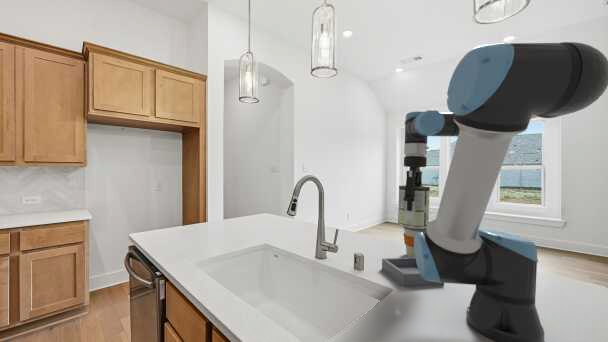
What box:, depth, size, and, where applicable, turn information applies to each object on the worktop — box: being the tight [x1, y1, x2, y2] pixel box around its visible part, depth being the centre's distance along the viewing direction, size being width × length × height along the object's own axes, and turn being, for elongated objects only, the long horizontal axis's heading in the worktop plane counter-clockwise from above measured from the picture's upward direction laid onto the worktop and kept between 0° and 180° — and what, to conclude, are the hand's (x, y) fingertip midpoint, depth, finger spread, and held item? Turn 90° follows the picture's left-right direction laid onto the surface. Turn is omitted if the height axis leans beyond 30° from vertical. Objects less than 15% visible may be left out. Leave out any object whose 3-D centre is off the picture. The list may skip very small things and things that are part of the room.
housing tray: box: [381, 257, 445, 287], centre depth 96 cm, size 15×15×4 cm
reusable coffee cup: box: [402, 221, 431, 258], centre depth 118 cm, size 13×13×15 cm
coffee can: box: [397, 185, 431, 229], centre depth 95 cm, size 10×10×14 cm
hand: (413, 217), depth 95 cm, fingers closed on coffee can, 10 cm apart
